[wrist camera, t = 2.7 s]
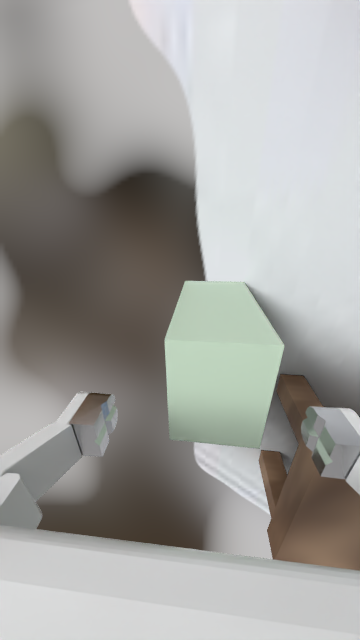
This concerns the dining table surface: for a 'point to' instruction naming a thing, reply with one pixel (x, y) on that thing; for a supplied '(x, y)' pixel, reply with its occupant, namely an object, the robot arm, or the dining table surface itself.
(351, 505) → the wooden footstool
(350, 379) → the dining table surface
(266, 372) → the sage block
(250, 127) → the dining table surface
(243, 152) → the dining table surface
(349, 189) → the dining table surface
